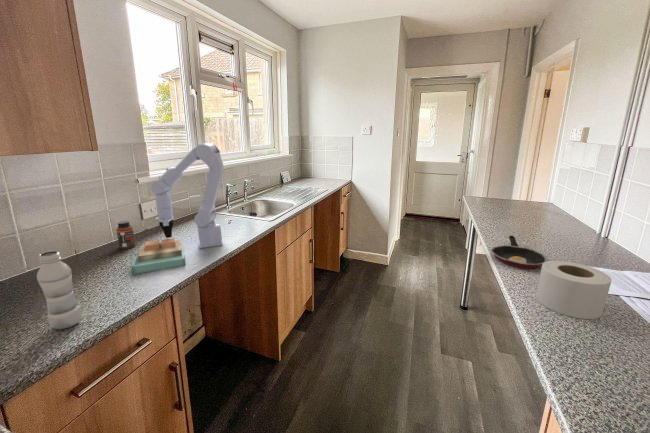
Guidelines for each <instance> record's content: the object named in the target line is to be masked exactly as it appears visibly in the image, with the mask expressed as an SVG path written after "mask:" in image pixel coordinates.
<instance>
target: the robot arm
mask: <svg viewBox="0 0 650 433" xmlns="http://www.w3.org/2000/svg"><path fill="white" fill-rule="evenodd" d="M199 160H200V161H202V162H203V163H204V164H205V165H207V167H208V168H209V171H208V176H207V180H206V184H205V189H204V192H203V197H202V202H201V205H200V207H199V209H198V211H197V213H196V215H195V216H194V219H193V220H194V223H195V225H196V227H197V232H198V233H197V234H198V241H197V243H198V248H199V249H205V248H211V247H218V246H222V245H223V237H222V228H221V225H220V223H215V219H217V218H216V217H217V214H216V202H217V197H218V192H219V189H220V184H221V178H222V174H223V170H224V163H223V159H222V156H221V150H220V149H219V147H217V146H216V144H215V143H212V142H207V143H199V144H197V145H196V147H194V148H192V149H191V150H190V151H189V152H188V154H186V155H185V157H183V159H182V160H181V161H180V162H179V163H178V164H177V165H176V166H169V167H167V168H166V169H165V172H164V173H162V175H159V176H158V179H155V180H152V183H151V184H150V190H151V191H152V192H153V193H154V199H155V204H156V210H157V217H155V218H154V220H155V221H159V224H158V225H159V227H160V228H161V229H162V231H163V233H164V236H165V239H171V238H172V236H173V234H172V233H173V226H174V223H175V220H174V218H175V216H174V214H173V213H174V212H173V205H172V198H171V190H172V188H173V186H175V185H176V183H177V182H179V181H180V180H181V179H182V178H183V172H185V171H186V170H187V169H189V167H190V166H192V165H193V163H196V161H199Z"/></svg>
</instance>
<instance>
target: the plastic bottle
mask: <svg viewBox="0 0 650 433" xmlns="http://www.w3.org/2000/svg"><path fill="white" fill-rule="evenodd" d="M38 258H39V263H40V264H41V266H40V267H39V269H38V271H37V273H36V280H37V282H38V285H39V286H40V288H41V290H42V292H43V295H44V297H45V300H46V308H47V322H48V324H49V326H50V327H51V328H52V329H55V330H64V329H68V328H71V327H73V326H75V325H78V323H79V322H80V321H81V319H82V310H81V307H80V305H79V304H78V301H77V299H76V296H75V294H74V293H75V292H74V287H73V274H72V268H70V266H69V265H68V264H67V263H65V262H64V261H62V257H61V254H60V252H59V251H58V250H51V251H45V252H42V253H40V254H39V255H38Z"/></svg>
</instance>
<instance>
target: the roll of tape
mask: <svg viewBox="0 0 650 433" xmlns="http://www.w3.org/2000/svg"><path fill="white" fill-rule="evenodd" d="M611 283H612V278H611V277H610V275H608V274H607V273H605V272H604V271H602V270H599V269H597V268H594V267H591V266H590V265H589V266H588V265H584V264H581V263H577V262H576V263H575V262H571V261H564V260H548V261H547V262H544V263H543V264H542V265H541V270H540V274H539V279H538V284H537V287H536V288H537V289H536V293H535V298H536V301H538V303H540V304H541V305H542V306H544V307H545V308H547V309H548V310H551V311H552V312H555V313H557V314H559V315H560V314H561V315H564V316H568V317H570V318H575V319H580V320H595V319H596V320H597V319H598V318H601V317H602V316H603V312H604V310H605V305H606V303H607V298H608V296H609V292H610V287H611V285H612V284H611Z"/></svg>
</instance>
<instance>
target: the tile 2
mask: <svg viewBox="0 0 650 433" xmlns="http://www.w3.org/2000/svg"><path fill="white" fill-rule="evenodd" d="M175 241H176V238H174V237H173V238H172V237H171V238H165V239H161V242H160V243H161V245H162V248H167V247H174V246H176V243H175Z"/></svg>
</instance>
